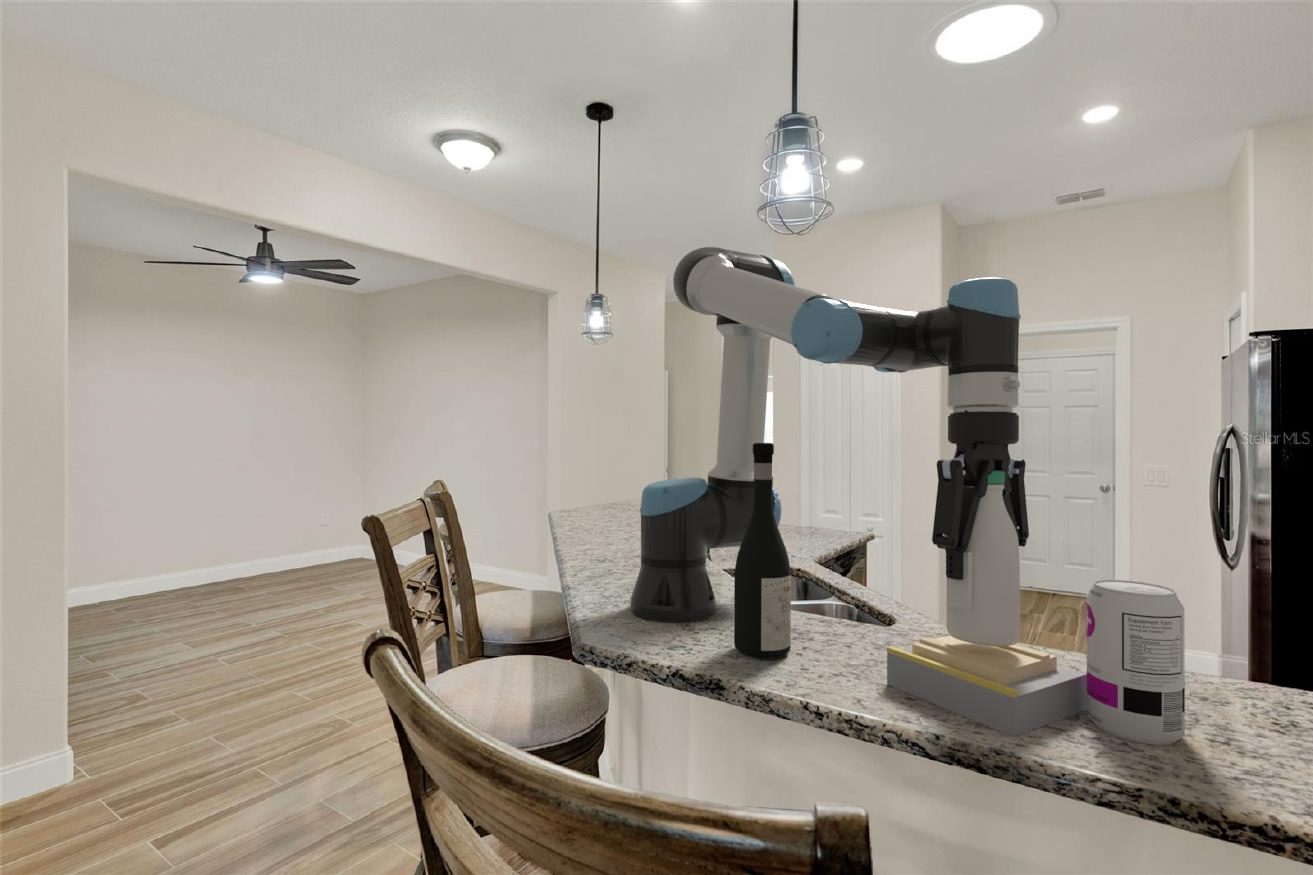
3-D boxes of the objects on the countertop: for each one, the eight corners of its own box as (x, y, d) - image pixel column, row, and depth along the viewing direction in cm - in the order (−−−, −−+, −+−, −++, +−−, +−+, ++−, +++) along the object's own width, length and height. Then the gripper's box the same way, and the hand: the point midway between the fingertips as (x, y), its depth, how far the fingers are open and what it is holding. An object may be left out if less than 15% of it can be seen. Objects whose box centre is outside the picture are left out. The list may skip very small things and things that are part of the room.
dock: (887, 684, 78) (887, 636, 78) (958, 665, 85) (958, 622, 85) (1013, 737, 64) (1013, 679, 64) (1087, 709, 71) (1087, 657, 71)
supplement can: (1074, 725, 67) (1074, 584, 67) (1102, 706, 72) (1102, 575, 72) (1170, 756, 60) (1170, 600, 61) (1194, 733, 65) (1193, 588, 66)
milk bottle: (1030, 650, 70) (1030, 471, 70) (956, 645, 72) (956, 470, 72) (1006, 630, 78) (1006, 468, 78) (939, 626, 79) (940, 468, 79)
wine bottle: (800, 651, 90) (801, 443, 91) (772, 666, 84) (774, 442, 85) (752, 639, 96) (753, 442, 96) (723, 652, 90) (724, 442, 90)
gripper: (956, 406, 67) (955, 622, 67) (1063, 412, 77) (1063, 599, 77) (897, 409, 73) (896, 605, 73) (1003, 414, 83) (1003, 587, 83)
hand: (981, 602), depth 75 cm, fingers closed on milk bottle, 8 cm apart
